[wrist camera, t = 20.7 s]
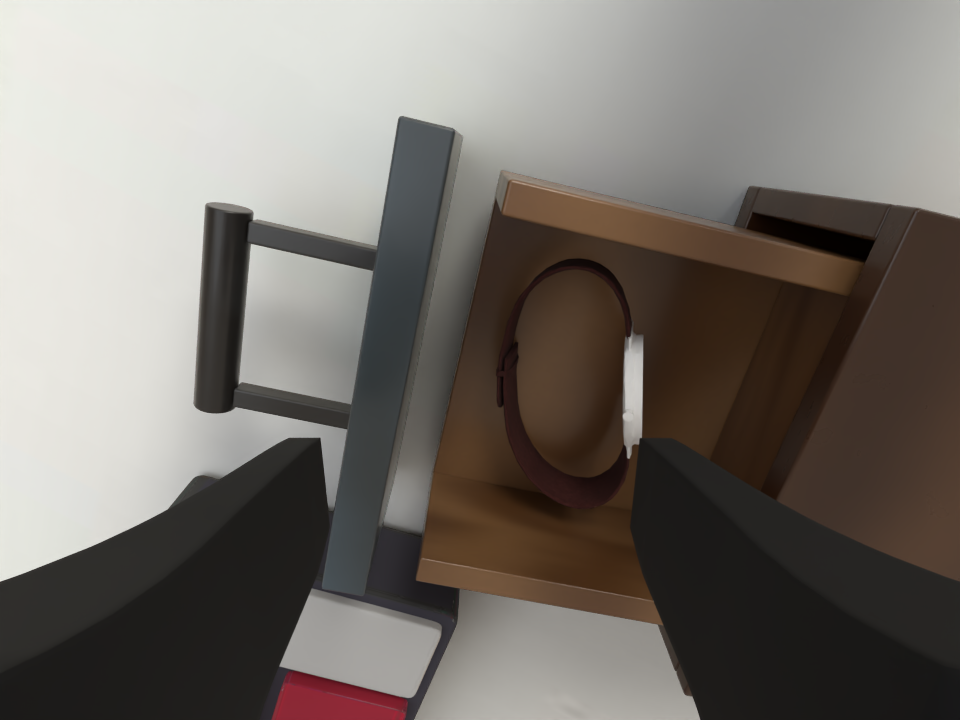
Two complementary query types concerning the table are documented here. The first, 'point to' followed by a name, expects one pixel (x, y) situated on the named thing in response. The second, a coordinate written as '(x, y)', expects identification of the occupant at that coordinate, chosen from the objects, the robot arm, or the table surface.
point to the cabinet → (876, 382)
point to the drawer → (538, 367)
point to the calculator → (363, 639)
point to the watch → (609, 482)
